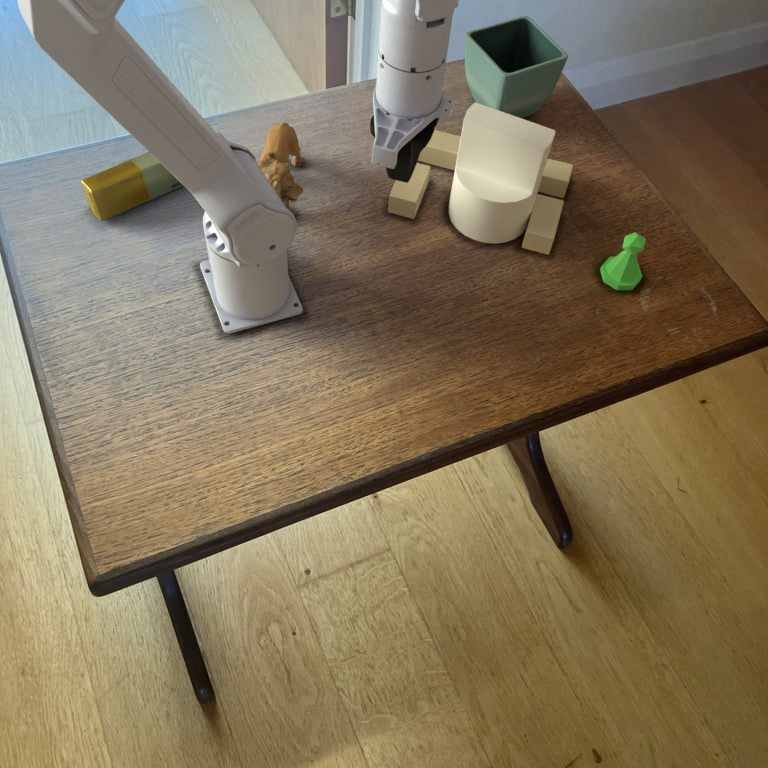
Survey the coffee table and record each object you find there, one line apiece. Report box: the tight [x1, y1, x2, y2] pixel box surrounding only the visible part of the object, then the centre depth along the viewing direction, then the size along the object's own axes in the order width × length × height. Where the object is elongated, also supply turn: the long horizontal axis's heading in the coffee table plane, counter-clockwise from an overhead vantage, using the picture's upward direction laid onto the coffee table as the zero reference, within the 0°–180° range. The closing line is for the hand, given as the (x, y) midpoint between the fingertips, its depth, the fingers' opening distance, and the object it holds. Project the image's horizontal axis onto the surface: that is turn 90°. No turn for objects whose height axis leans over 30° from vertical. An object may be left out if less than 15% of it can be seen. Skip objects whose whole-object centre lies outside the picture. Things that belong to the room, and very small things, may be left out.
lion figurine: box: [257, 122, 304, 215], centre depth 86 cm, size 15×5×9 cm, turn 4°
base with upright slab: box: [448, 101, 556, 245], centre depth 85 cm, size 9×9×12 cm
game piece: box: [599, 231, 647, 291], centre depth 84 cm, size 4×4×6 cm
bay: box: [387, 129, 574, 255], centre depth 91 cm, size 12×18×2 cm, turn 73°
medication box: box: [80, 151, 184, 222], centre depth 87 cm, size 12×3×4 cm, turn 129°
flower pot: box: [464, 15, 569, 119], centre depth 96 cm, size 9×9×9 cm
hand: (400, 175), depth 79 cm, fingers closed
